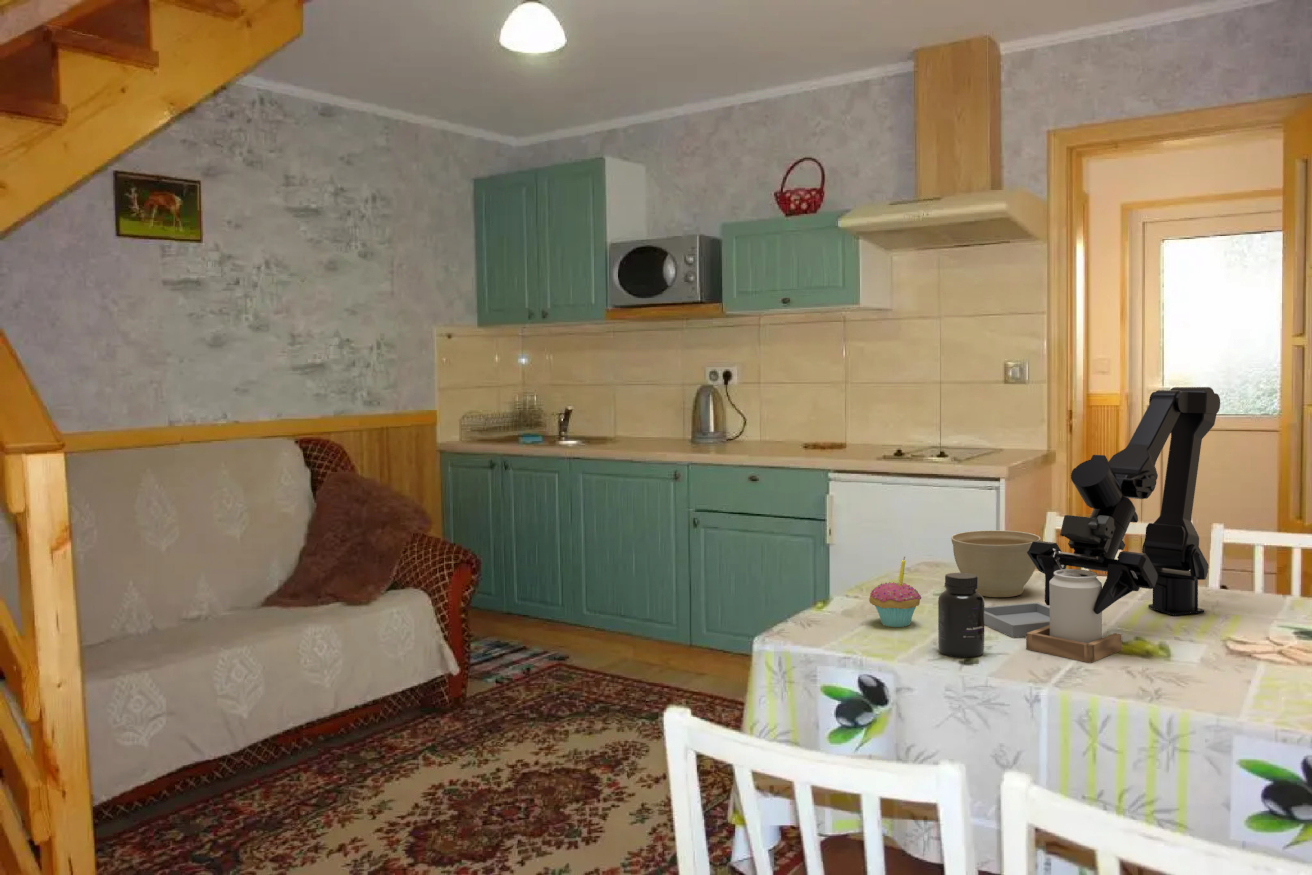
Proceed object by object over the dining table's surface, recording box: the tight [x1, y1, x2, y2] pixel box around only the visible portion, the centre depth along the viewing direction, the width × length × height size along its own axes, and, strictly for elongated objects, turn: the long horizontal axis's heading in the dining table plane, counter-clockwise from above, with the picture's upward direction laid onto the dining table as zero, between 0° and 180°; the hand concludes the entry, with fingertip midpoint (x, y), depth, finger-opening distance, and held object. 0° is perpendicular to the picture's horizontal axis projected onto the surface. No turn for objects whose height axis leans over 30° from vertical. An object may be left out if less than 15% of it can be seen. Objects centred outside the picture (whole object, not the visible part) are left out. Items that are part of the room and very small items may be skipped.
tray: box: [984, 601, 1050, 638], centre depth 172 cm, size 13×13×2 cm
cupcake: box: [868, 555, 922, 628], centre depth 175 cm, size 9×8×12 cm
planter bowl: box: [950, 529, 1041, 598], centre depth 196 cm, size 16×16×11 cm
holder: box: [1025, 625, 1123, 664], centre depth 157 cm, size 9×10×2 cm
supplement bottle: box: [937, 572, 985, 658], centre depth 157 cm, size 7×7×12 cm
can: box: [1049, 568, 1103, 643], centre depth 157 cm, size 8×8×12 cm
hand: (1070, 608), depth 156 cm, fingers closed on can, 7 cm apart
